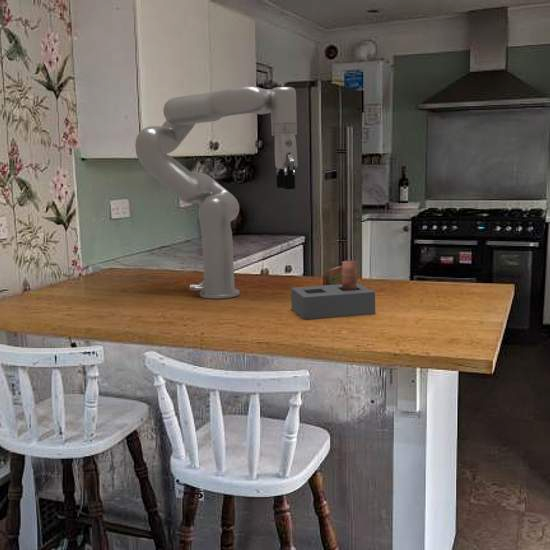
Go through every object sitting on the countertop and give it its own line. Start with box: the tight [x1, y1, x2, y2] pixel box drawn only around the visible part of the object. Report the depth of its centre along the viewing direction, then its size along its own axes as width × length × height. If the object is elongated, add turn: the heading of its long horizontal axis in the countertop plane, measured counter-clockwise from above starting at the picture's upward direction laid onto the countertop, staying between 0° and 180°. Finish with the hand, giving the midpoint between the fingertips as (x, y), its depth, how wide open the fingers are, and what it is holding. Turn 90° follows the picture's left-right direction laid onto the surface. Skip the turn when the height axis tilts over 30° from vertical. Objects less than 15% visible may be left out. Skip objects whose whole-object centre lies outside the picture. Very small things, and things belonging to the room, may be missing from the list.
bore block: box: [290, 282, 376, 320], centre depth 193 cm, size 20×14×6 cm
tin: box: [322, 265, 342, 286], centre depth 217 cm, size 15×3×8 cm, turn 144°
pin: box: [341, 260, 358, 291], centre depth 193 cm, size 4×4×12 cm
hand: (285, 188), depth 208 cm, fingers open, 9 cm apart
